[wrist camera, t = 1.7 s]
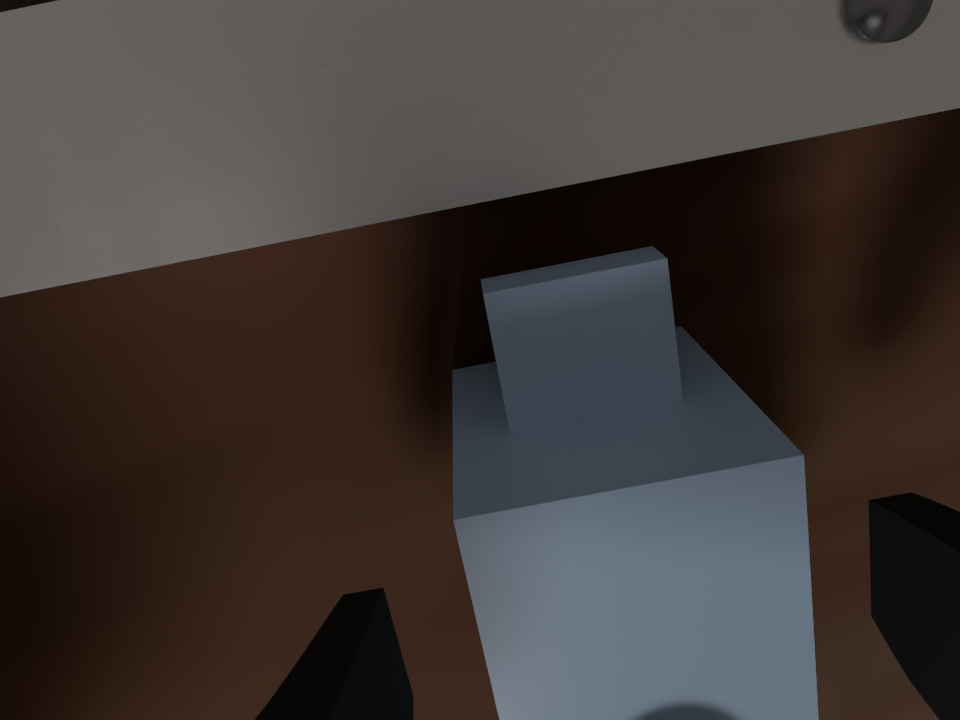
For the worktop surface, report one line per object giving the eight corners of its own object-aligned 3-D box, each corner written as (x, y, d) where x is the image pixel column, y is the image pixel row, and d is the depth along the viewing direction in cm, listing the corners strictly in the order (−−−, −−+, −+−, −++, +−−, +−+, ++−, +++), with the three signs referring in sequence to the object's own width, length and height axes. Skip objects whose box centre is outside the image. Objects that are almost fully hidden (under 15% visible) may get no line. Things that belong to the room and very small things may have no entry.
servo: (529, 722, 16) (564, 1014, 11) (428, 256, 13) (413, 369, 8) (719, 689, 16) (843, 968, 11) (668, 210, 13) (810, 294, 8)
